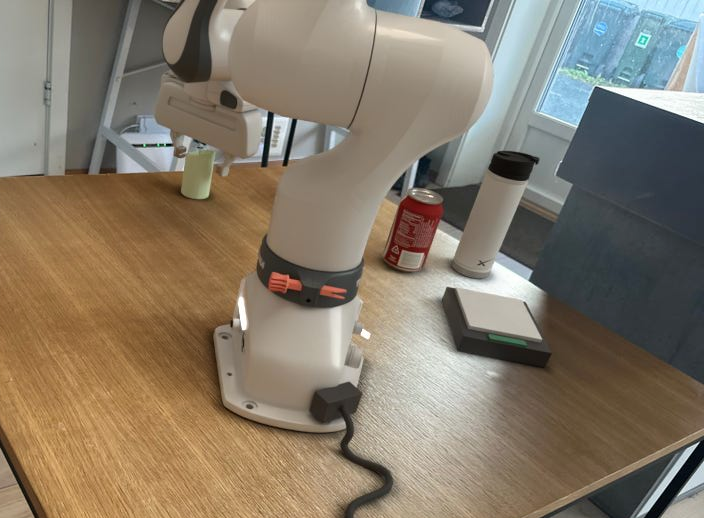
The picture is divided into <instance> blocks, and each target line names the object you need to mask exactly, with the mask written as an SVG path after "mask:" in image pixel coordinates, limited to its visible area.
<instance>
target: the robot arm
mask: <svg viewBox="0 0 704 518" xmlns="http://www.w3.org/2000/svg"><path fill="white" fill-rule="evenodd" d="M161 53H162V57H163V60H164V62H165V64H167V66H168V69H169V70H167V71H165V72H164V73H163V74H162V75H161V78H160V89H159V91H158V95H157V98H156V103H155V108H154V115H153V116H154V120H155V122H156V124H157V125H159V126H162V127H163V128H166V129H168V130H169V136H170V137H169V138H170V140H171V143H172V146H173V153H172V154H173V155H172V156H174V157H175V158H178V159H185V156H186V154H187V153H186V152H187V150H188V149H187V148H188V147H186V146H184V142H183V139H182V138H183V137H182V136H186V137H187V138H190V139H193V140H196V141H198V142H200V143H202V144H205V145H207V146H210V147H212V148H215V149H217V150H220V151H222V152H223V158H224V161H223V162H221V163H218V164H216V168H215V169H216V170H215V175H217V176H219V177H221V178H225V177H227V176H228V175H229V172H230V167H231V166H232V164H233V163H234V162H235V161H236V160H237V159H238V158H239V159H242V160H245V159H249V158H251V157H254V156H255V155H256V154H257V153H258V152H259V150H260V144H261V138H262V133H263V132H262V131H263V116H262V113H261V111H260V110H259V109H262V110H265V111H267V112H270V113H272V114H275V115H277V116H279V117H282V118H288V119H291V120H292V119H293V120H299V121H304V122H309V123H314V124H315V123H316V124H321V125H325V126H332V127H336V128H342V129H346V130H347V131H348V133H347V134H346V136H345V137H344V138H343V139H342V140H341V141H340V142H339V143H338V144H336V145H335V146H333V147H332V148H330V149H327V150H324V151H321V152H318V153H314V154H311V155H307V156H305V157H302V158H300V159H299V160H296V162H294V163H292V164H291V165H290V166H288V168H286V169H285V170H284V172H283V173H282V175H281V176H280V178H279V180H278V182H277V186H276V192H275V194H274V195H275V196H274V201H273V205H272V209H271V215H270V219H269V225H268V228H267V229H268V230H267V233H266V234H265V235H263V238H262V239H261V244H260V246H259V247H258V252H257V262H256V269H254V270H253V271H252V272H250V273H249V274H248V275H246V276H244V277H242V278H241V280H240V283H239V288H238V292H237V297H236V302H235V306H234V310H233V314H232V319H231V320H230V323H229V324H223V325H218V326H217V327H216V328H215V329H214V332H213V335H212V337H213V339H212V340H213V344H214V353H215V358H216V359H215V360H216V366H217V374H218V381H219V388H220V395H221V402H222V404H223V406H224V407H225V408H227V410H230V412H233V413H234V414H237V415H239V416H241V417H243V418H246V419H248V420H251V421H254V422H256V423H260V424H263V425H268V426H272V427H277V428H280V429H286V430H291V431H298V432H306V433H334V432H339V431H343V430H346V431H345V434H344V436H343V437H342V439H341V441H340V444H339V447H340V450H341V452H342V454H343V456H344V457H345V458H346V459H348V460H349V461H351V462H352V463H354V464H356V465H359V466H361V467H364V468H367V469H368V470H370V471H374V472H375V473H378V474H380V475H381V476H383V478H384V484H383V485H382V486H381V487H379V488H378V489H375V490H373V491H371V492H368V493H366V494H362V495H361V496H358V497H356V498H354V499H353V500H351V501H350V502H349V503H348V505H347V506H346V508H345V510H344V518H355V517H354V515H355V511H356V510H357V509H358V508H359V507H361V506H363V505H365V504H367V503H369V502H373V501H375V500H377V499H379V498H382V497H384V496H385V495H387V494H388V493H390V491H391V490H392V488H393V485H394V478H393V475H392V473H391V471H390V470H389V469H388V468H387V467H385V466H383V465H382V464H379V463H377V462H374V461H370V460H367V459H364V458H362V457H359V456H358V455H356V454H355V453H353V452H352V451H351V450H350V448H349V444H350V442H351V441H352V440H353V437H354V434H355V427H354V422H353V419H352V416H351V415H353V414H356V413H357V411H358V408H359V405H360V402H361V399H362V396H363V392H362V391H361V390H360V389H359V388H358V386H359V385H358V384H359V381H360V377H361V372H362V370H363V369H362V368H363V364H364V359H365V358H364V356H363V355H364V349H362V348H359V347H358V345H357V344H355V343H351V342H352V339H353V335H357V336H358V335H359V336H362V337H364V338H365V339H366V340H368V339H370V336H371V333H370V332H368V331H366V330H365V329H364V326H365V325H364V323H362V322H359V321H358V320H359V317H360V314H361V310H362V307H363V304H364V302H363V300H362V299H361V297H360V296H359V295H358V292H359V287H360V284H361V282H362V278H363V274H364V266H365V257H364V253H365V250H366V247H367V244H368V241H369V239H370V235H371V232H372V230H373V227H374V224H375V221H376V219H377V216H378V215H379V214H378V213H379V211H380V209H381V207H382V205H383V202H384V200H385V199H386V197H387V195H388V193H389V192H390V191H391V189H392V188H393V186H394V185H395V184H396V182H397V181H398V180H399V179H400V178H401V177H402V176H403V175H404V174H405V173H406V171H408V169H409V168H411V167H412V166H413V165H414V164H415V163H417V162H418V161H419V160H420V159H421V158H423V157H424V156H426V155H427V154H428V153H430V152H432V151H433V150H435V149H437V148H439V147H441V146H444V145H446V144H447V143H449V142H453V141H455V140H457V139H458V138H460V137H461V136H463V135H464V134H465V133H467V132H468V131H469V130H471V128H472V127H474V126H475V124H476V123H477V122H478V120H479V119H480V118H481V117H482V115H483V114H484V112H485V110H486V108H487V107H488V104H489V101H490V99H491V95H492V93H493V87H494V78H495V77H494V75H495V73H494V63H493V59H492V56H491V53H490V50H489V47H487V44H486V43H485V41H484V40H483V39H480V38H478V37H476V36H475V35H472V34H469V33H468V32H466V31H463V30H461V29H460V28H459V29H458V28H456V27H454V26H451V25H449V24H446V23H443V22H441V21H438V20H437V21H436V20H433V19H428V18H422V17H416V16H411V15H406V14H401V13H397V12H396V13H395V12H390V11H386V10H385V11H384V10H380V9H375V8H374V7H371V6H369V4H368V2H367V0H179V2H178V3H177V5H176V6H175V8H174V9H173V11H172V12H171V14H170V15H169V16H168V19H167V21H166V23H165V24H164V27H163V31H162V36H161Z"/></svg>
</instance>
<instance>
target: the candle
mask: <svg viewBox="0 0 704 518" xmlns="http://www.w3.org/2000/svg"><path fill="white" fill-rule="evenodd" d="M215 157H216V151H215V150H213V149H201V150H193V151H189V152H187V153H186V156H185V157H184V163H183V173H182V179H181V188H180V193H181V194H182V195H183V196H184V197H186V198H189V199H192V200H205V199H207V198H209V196H210V190H211V185H212V178H213V171H214V165H215Z"/></svg>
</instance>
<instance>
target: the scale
mask: <svg viewBox="0 0 704 518" xmlns="http://www.w3.org/2000/svg"><path fill="white" fill-rule="evenodd" d="M441 303H442V306H443V309H444V312H445V313H444V314H445V316H446V318H447V319H446V320H447V322H448V326H449V328H450V329H449V330H450V331H451V334H452V338H453V341H454V345H455V347H456V350H457V352H462V353H468V354H473V355H477V356H484V357H488V358H494V359H499V360H504V361H509V362H514V363H520V364H523V365H524V364H525V365H531V366H536V367H540V368H541V367H542V368H546V366H547V364H548V363H549V360H550V358H551V356H552V354H553V351H552V350H551V348H550V345H549V344H548V342H547V340H546V339H545V336H544V335H543V333H542V331H541V328H540V326H539V325H538V322H537V321H536V319H535V317H534V315H533V314H532V311H531V309H530V308H529V305H528V304H527V302H526V301H523V299H518V298H513V297H509V296H503V295H498V294H493V293H487V292H483V291H477V290H472V289H466V288H463V287H462V288H461V287H450V286H446V287H445V290H444V292H443V295H442V298H441Z"/></svg>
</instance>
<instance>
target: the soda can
mask: <svg viewBox="0 0 704 518" xmlns="http://www.w3.org/2000/svg"><path fill="white" fill-rule="evenodd" d="M443 201H444V198H443V196H442V195H440V194H439V193H437V192H435V191H432V190H430V189H426V188H420V187H411V188H408V189H407V191H406V194H405V195H403V196H402V197H401V199H400V200H399V202H398V205H397V208H396V212H395V215H394V218H393V221H392V224H391V227H390V231H389V233H388V237H387V240H386V243H385V246H384V250H383V253H382V259H383V261H384V262H385V263H387V265H388V266H389V267H391V268H393V269H395V270H397V271H399V272H400V271H401V272H404V273H412V272H418V271H421V270H423V268H424V267H425V264H426V261H427V258H428V255H429V253H430V250H431V248H432V245H433V242H434V239H435V236H436V234H437V230H438V228H439V225H440V222H441V221H442V220H441V219H442V216H443V214H444V208H443V204H442V203H443Z"/></svg>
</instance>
